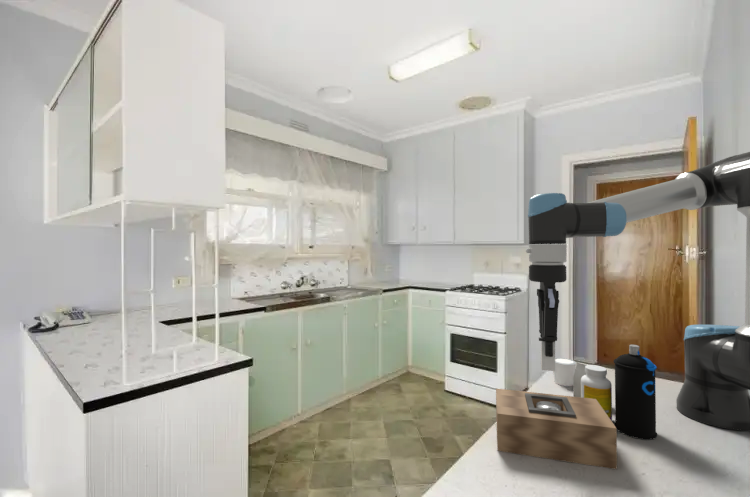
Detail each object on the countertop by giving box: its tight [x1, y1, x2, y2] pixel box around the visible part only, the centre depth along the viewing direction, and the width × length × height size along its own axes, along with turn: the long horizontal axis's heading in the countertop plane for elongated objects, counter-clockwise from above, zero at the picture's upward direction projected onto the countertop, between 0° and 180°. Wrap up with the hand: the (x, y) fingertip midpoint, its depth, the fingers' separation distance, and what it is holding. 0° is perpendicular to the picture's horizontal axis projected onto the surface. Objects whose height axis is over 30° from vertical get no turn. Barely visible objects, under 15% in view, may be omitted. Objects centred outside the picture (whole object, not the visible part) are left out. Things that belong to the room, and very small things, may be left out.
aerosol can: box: [613, 344, 658, 441], centre depth 84 cm, size 8×8×20 cm
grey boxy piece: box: [572, 361, 587, 397], centre depth 100 cm, size 4×7×10 cm, turn 30°
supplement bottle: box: [581, 364, 613, 422], centre depth 90 cm, size 7×7×13 cm
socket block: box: [495, 388, 618, 470], centre depth 79 cm, size 22×14×9 cm, turn 72°
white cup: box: [552, 357, 577, 387], centre depth 113 cm, size 7×7×7 cm
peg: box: [536, 401, 561, 411], centre depth 79 cm, size 5×5×8 cm
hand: (548, 369), depth 79 cm, fingers closed
